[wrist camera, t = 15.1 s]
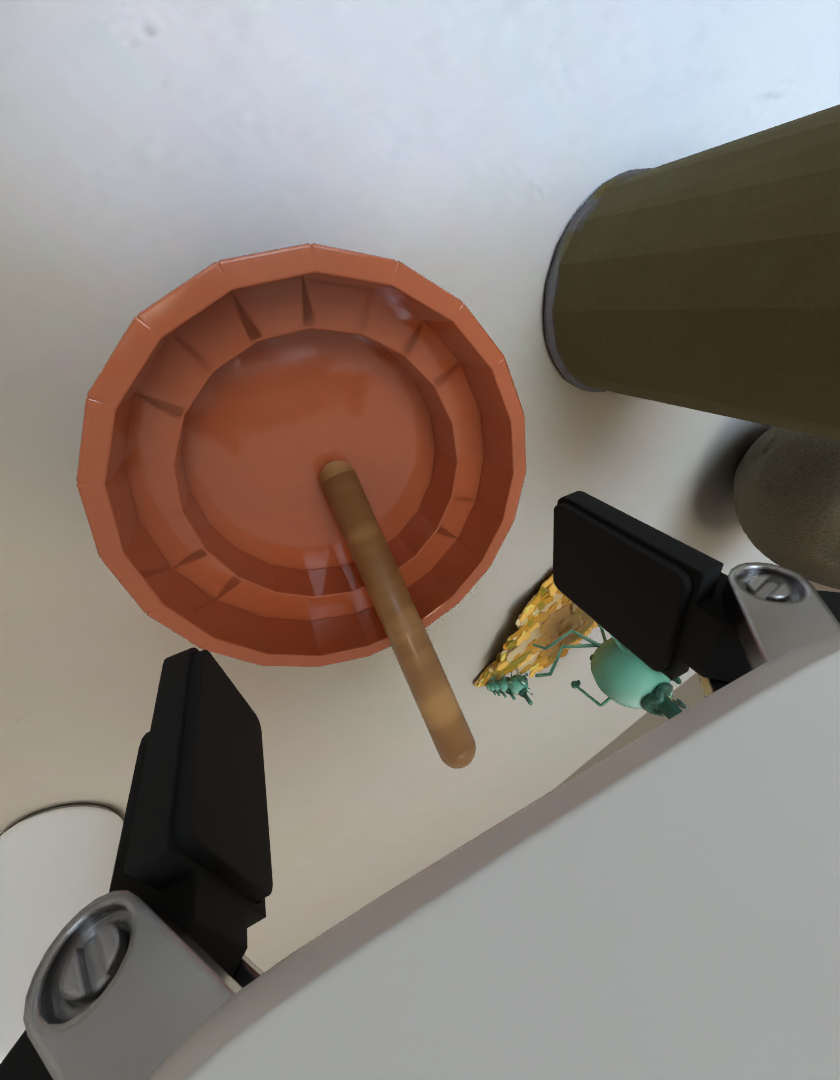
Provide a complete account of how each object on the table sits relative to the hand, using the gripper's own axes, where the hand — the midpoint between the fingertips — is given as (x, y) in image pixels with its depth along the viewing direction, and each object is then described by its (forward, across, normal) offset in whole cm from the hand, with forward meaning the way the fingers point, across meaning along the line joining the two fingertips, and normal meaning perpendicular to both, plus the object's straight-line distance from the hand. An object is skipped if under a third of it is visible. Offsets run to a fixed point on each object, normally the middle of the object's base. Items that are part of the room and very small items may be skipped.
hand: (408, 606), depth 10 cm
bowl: (+12, 0, 0) cm, 12 cm away
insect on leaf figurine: (+13, -14, +19) cm, 27 cm away
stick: (+11, 0, 0) cm, 11 cm away
